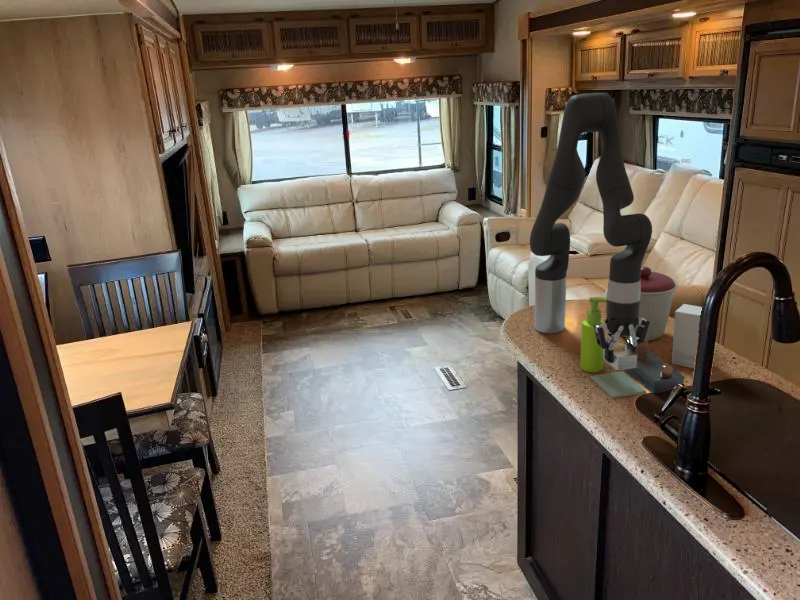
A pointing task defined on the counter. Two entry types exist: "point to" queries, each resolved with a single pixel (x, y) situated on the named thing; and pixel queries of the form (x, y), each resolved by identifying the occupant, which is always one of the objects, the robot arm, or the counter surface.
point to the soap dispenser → (592, 339)
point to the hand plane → (654, 371)
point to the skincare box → (686, 335)
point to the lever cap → (623, 357)
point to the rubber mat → (617, 384)
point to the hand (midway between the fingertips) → (619, 359)
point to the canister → (655, 301)
